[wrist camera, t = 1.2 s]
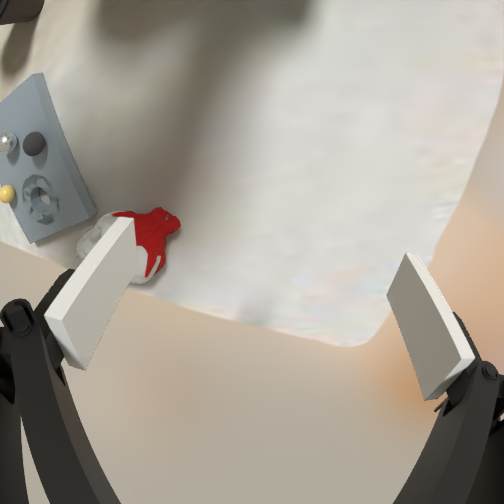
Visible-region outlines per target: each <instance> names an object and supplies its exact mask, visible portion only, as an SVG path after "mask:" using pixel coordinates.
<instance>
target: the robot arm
mask: <svg viewBox="0 0 504 504" xmlns="http://www.w3.org/2000/svg"><path fill="white" fill-rule="evenodd" d="M138 266H139V264H138V256H137V247H136V238H135V227H134V218H127V217H119V218H118V219H117V220H116V221H115V222H114V223H113V225H112V226H111V227H110V228H109V229H108V231H107V232H106V233H105V234H104V235H103V237H102V238H101V239H100V240H99V241H98V243H97V244H96V245H95V246H94V248H93V249H92V250H91V251H90V253H89V254H88V255H87V256H86V258H85V259H84V260H83V261H82V263H81V264H80V265H79V267H78V268H77V269H76V270H74V269H68V270H67V271H66V272H64V273H63V274H61V275H60V276H59V277H58V279H57V280H56V281H55V283H54V285H53V286H52V287H51V288H50V289H49V292H48V293H46V295H45V296H44V298H43V299H42V300H41V302H40V303H39V304H38V306H37V307H36V309H35V310H34V311H33V309H32V307H31V305H30V303H29V302H28V301H27V300H26V299H15V300H12V301H10V302H8V303H7V304H6V305H5V306H4V307H3V309H2V310H1V312H0V319H1V321H2V323H3V325H4V327H0V504H29V501H28V495H27V489H26V483H25V475H24V467H23V457H22V443H21V417H22V422H23V426H24V430H25V434H26V437H27V441H28V444H29V448H30V451H31V454H32V457H33V460H34V463H35V466H36V469H37V472H38V475H39V477H40V480H41V483H42V485H43V488H44V490H45V493H46V495H47V498H48V500H49V502H50V504H121V503H120V501H119V499H118V498H117V496H116V494H115V492H114V491H113V489H112V487H111V486H110V483H109V482H108V480H107V478H106V476H105V474H104V472H103V470H102V468H101V466H100V464H99V462H98V460H97V458H96V456H95V453H94V451H93V449H92V447H91V445H90V442H89V440H88V438H87V435H86V433H85V430H84V428H83V426H82V423H81V421H80V418H79V415H78V413H77V410H76V407H75V404H74V402H73V399H72V396H71V393H70V390H69V387H68V384H67V380H66V377H65V374H64V370H63V368H62V366H61V362H62V360H63V358H64V357H65V359H66V361H67V363H68V364H69V366H72V367H75V368H78V369H81V370H86V369H87V366H88V364H89V362H90V360H91V358H92V355H93V353H94V351H95V349H96V347H97V345H98V343H99V341H100V338H101V337H102V335H103V333H104V330H105V328H106V326H107V324H108V322H109V321H110V318H111V317H112V314H113V313H114V311H115V309H116V307H117V304H118V303H119V301H120V299H121V297H122V296H123V294H124V292H125V290H126V288H127V286H128V284H129V283H130V281H131V279H132V277H133V275H134V274H135V272H136V270H137V268H138ZM387 298H388V300H389V303H390V305H391V308H392V310H393V313H394V315H395V318H396V320H397V323H398V325H399V328H400V330H401V333H402V336H403V338H404V341H405V344H406V347H407V350H408V352H409V355H410V358H411V361H412V363H413V367H414V370H415V373H416V376H417V379H418V382H419V385H420V388H421V391H422V395H423V398H424V401H425V400H432V399H438V398H439V397H440V396H441V395H442V394H443V393H444V392H445V391H446V392H447V395H448V397H447V398H446V399H445V400H444V401H443V402H442V403H441V404H440V405H439V406H438V407H437V408H436V409H435V410H434V412H437V410H439V409H440V408H441V410H440V412H439V415H438V417H437V420H436V422H435V424H434V427H433V429H432V431H431V434H430V436H429V438H428V440H427V442H426V444H425V447H424V449H423V451H422V453H421V455H420V457H419V459H418V461H417V463H416V465H415V466H414V468H413V470H412V472H411V474H410V476H409V477H408V479H407V481H406V483H405V485H404V487H403V488H402V490H401V492H400V493H399V495H398V496H397V498H396V500H395V501H394V503H393V504H504V419H503V420H502V421H501V420H500V416H501V415H502V414H503V413H504V375H500V374H499V373H498V371H497V369H496V368H495V366H494V365H493V364H491V363H490V362H488V361H482V359H481V357H480V355H479V353H478V351H477V349H476V347H475V345H474V343H473V341H472V339H471V337H469V333H468V331H467V330H466V327H465V326H464V324H463V322H462V320H461V319H460V318H459V317H458V316H457V314H456V313H455V312H452V311H451V309H450V308H449V306H448V304H447V302H446V300H445V299H444V297H443V295H442V293H441V292H440V290H439V288H438V287H437V285H436V283H435V282H434V280H433V279H432V277H431V275H430V274H429V272H428V270H427V269H426V267H425V265H424V264H423V262H422V261H421V259H420V258H419V256H418V255H417V254H410V253H405V255H404V257H403V260H402V262H401V264H400V267H399V269H398V271H397V273H396V276H395V278H394V280H393V282H392V284H391V286H390V288H389V291H388V293H387Z"/></svg>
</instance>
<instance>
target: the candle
mask: <svg viewBox="0 0 504 504" xmlns="http://www.w3.org/2000/svg"><path fill="white" fill-rule="evenodd" d="M119 217H127V218H134V227H135V238H136V247H137V256H138V264H139V266H138V268H137V270H136V272H135V274H134V275H133V277H132V279H131V281H130V283H131V284H143V283H146V282H147V281H149V280H150V279H151V278H152V276H154V275H155V274H156V273H157V272H158V271H159V270H160V269H161V268H162V267H163V265H164V264H165V245H166V237H167V236H168V234H171V233H173V232H174V231H175V230H177V229H178V228H179V227H180V226H181V224H180V221H179V219H178V218H177V217H176V216H172V215H171V214H170V213H169V212H167V211H165V210H164V209H162V208H161V207H158V208H155V209H154V210H153V211H151V212H150V213H148V214H136V213H134V212H132V211H127V212H125V211H123V210H116V211H112V212H110V213H107V214H105V215H103V216H102V218H100V219H99V220H98V221H97V223H96V224H95V225H94V228H93V229H91V230H89V231H88V232H87V233H85V234H84V235H83V236H82V238H81V239H80V240H79V241H78V242H77V245H76V252H77V257H79V256H80V259H81V260H83V259H85V258H86V256H87V255H88V254H89V253H90V251H91V250H92V249H93V248H94V246H95V245H96V244H97V243H98V241H99V240H100V239H101V238H102V237H103V235H104V234H105V233H106V232H107V231H108V229H109V228H110V227H111V226H112V225H113V223H114V222H115V221H116V220H117V219H118V218H119Z"/></svg>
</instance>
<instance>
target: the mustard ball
mask: <svg viewBox="0 0 504 504" xmlns="http://www.w3.org/2000/svg"><path fill="white" fill-rule="evenodd" d="M14 195H15V191H14V188H13V187H12V186H11V185H4V186H3V187H2V188H1V189H0V200H1V201H2V202H3V203H9V202H11V201H12V200H13V198H14Z"/></svg>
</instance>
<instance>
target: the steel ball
mask: <svg viewBox="0 0 504 504" xmlns="http://www.w3.org/2000/svg"><path fill="white" fill-rule="evenodd" d="M16 144H17V137H16V135H15V134H14V133H13V132H11V131H6V132H4V133H2V134H1V135H0V153H2V154H9V153H11V152H12V151H13V150H14V149H15V147H16Z"/></svg>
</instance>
